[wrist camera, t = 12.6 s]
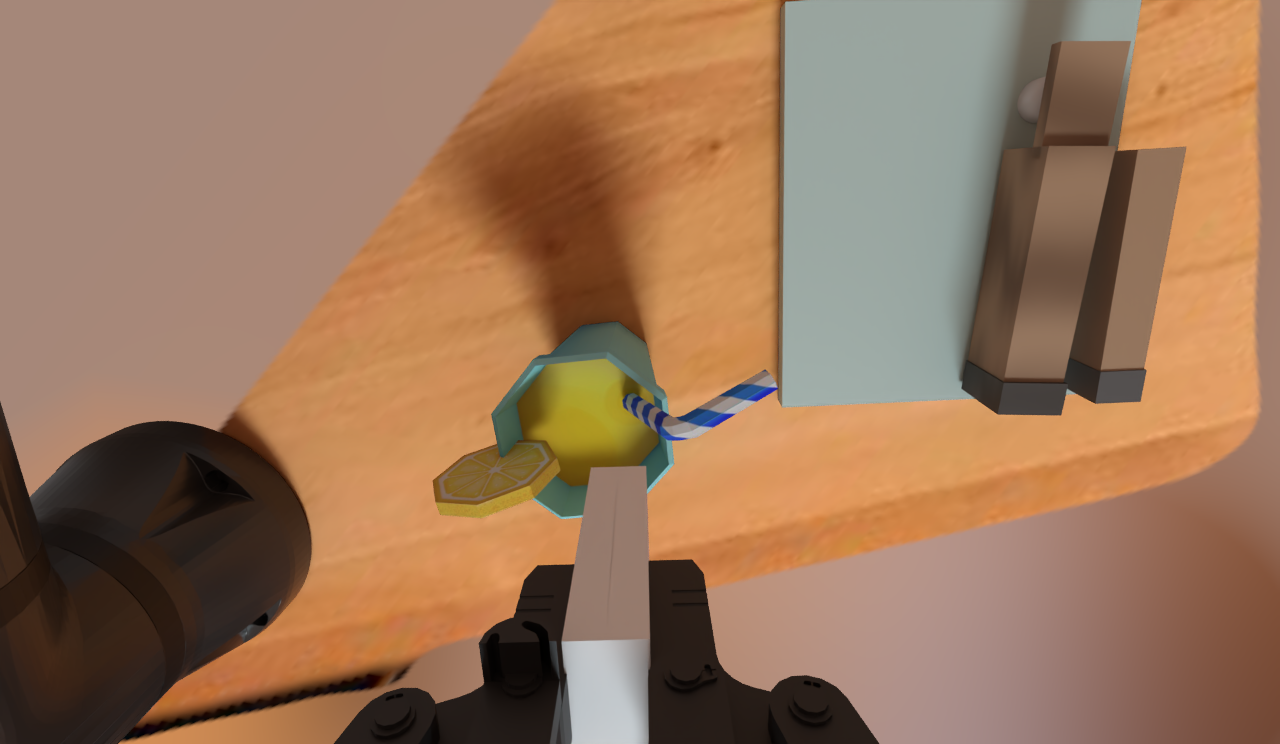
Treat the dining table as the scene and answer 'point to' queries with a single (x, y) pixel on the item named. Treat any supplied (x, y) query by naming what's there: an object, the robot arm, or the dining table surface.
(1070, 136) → the leg
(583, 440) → the cup
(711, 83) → the dining table surface
